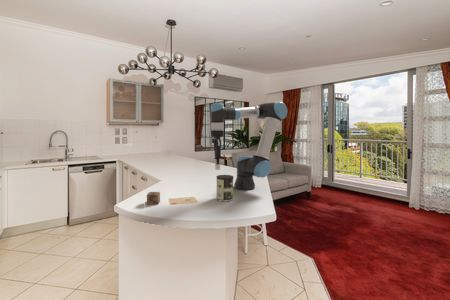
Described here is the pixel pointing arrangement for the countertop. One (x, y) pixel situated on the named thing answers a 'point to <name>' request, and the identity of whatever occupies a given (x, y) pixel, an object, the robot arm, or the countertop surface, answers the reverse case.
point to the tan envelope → (182, 200)
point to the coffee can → (224, 188)
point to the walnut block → (153, 198)
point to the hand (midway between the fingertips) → (217, 169)
